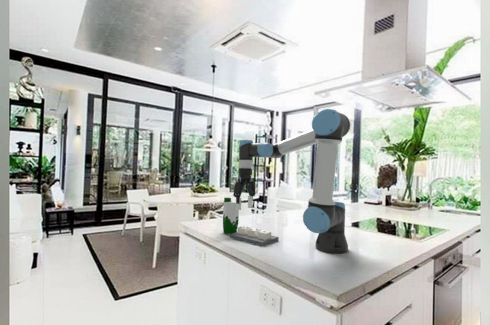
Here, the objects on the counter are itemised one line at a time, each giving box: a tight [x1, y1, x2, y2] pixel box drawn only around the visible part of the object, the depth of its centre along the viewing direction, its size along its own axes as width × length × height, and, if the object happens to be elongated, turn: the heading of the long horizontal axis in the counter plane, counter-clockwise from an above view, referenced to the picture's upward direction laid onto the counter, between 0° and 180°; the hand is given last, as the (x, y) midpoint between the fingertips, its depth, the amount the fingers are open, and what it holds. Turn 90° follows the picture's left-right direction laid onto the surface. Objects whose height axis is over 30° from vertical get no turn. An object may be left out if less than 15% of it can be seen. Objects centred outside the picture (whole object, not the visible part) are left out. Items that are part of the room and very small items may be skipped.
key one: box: [258, 230, 272, 240], centre depth 141 cm, size 5×5×4 cm
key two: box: [247, 227, 262, 237], centre depth 146 cm, size 5×5×4 cm
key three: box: [237, 225, 251, 235], centre depth 150 cm, size 5×5×4 cm
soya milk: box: [222, 197, 240, 235], centre depth 160 cm, size 9×9×20 cm
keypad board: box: [229, 231, 279, 247], centre depth 146 cm, size 22×14×2 cm, turn 50°
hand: (244, 208), depth 150 cm, fingers open, 9 cm apart
